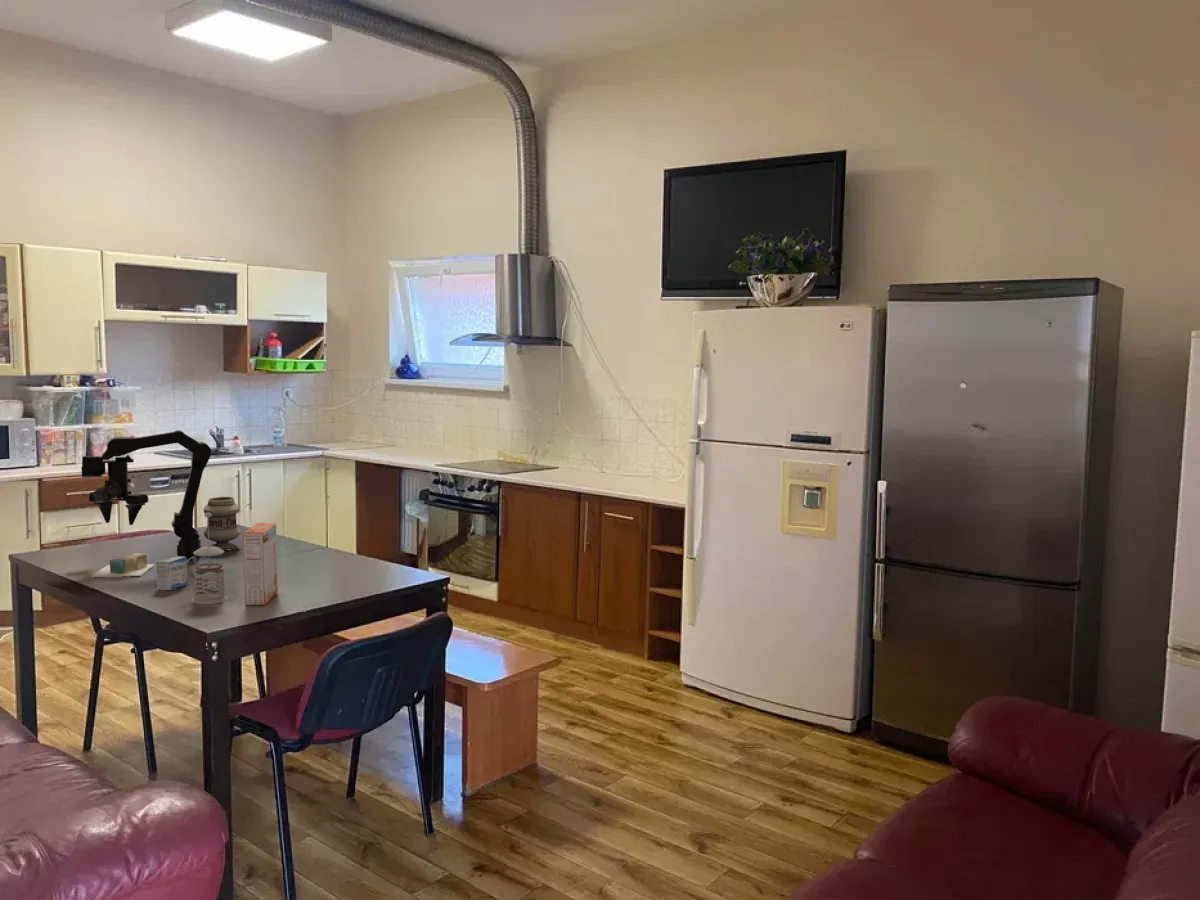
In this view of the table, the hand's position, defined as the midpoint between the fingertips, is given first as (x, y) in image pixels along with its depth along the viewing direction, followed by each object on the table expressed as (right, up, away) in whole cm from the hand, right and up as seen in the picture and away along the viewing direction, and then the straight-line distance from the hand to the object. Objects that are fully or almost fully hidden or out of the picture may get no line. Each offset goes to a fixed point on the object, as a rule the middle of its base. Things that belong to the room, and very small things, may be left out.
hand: (119, 523), depth 306 cm
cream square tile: (+7, -14, -10) cm, 19 cm away
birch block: (+10, -11, -5) cm, 15 cm away
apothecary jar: (+23, -11, +27) cm, 37 cm away
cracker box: (+60, -19, -39) cm, 74 cm away
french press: (+45, -19, -40) cm, 63 cm away
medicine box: (+30, -17, -28) cm, 44 cm away
